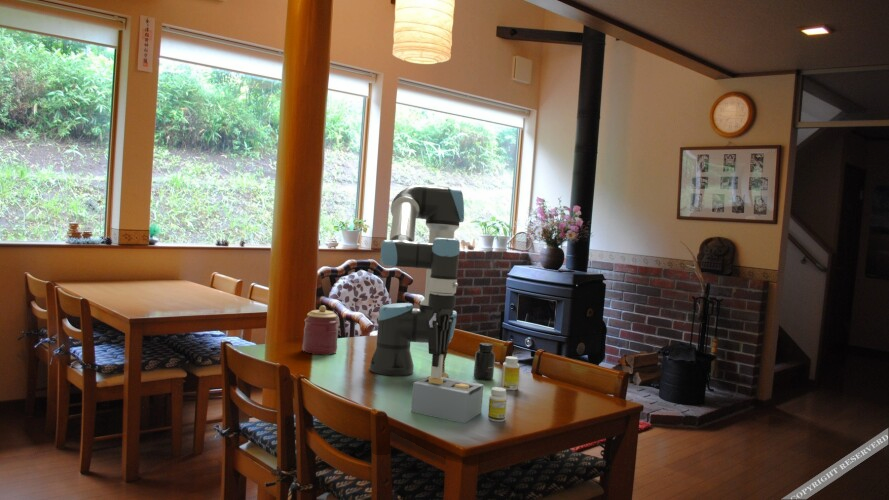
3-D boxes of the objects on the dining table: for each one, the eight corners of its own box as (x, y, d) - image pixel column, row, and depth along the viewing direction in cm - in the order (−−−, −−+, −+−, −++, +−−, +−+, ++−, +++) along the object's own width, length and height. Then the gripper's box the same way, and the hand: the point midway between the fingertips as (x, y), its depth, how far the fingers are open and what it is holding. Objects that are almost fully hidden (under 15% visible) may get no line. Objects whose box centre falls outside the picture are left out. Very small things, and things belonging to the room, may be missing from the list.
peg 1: (424, 404, 182) (426, 378, 182) (430, 401, 186) (432, 375, 186) (437, 407, 181) (439, 380, 180) (443, 404, 184) (445, 378, 184)
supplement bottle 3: (521, 390, 213) (523, 359, 212) (506, 391, 210) (509, 359, 210) (512, 385, 218) (514, 355, 217) (497, 386, 215) (500, 355, 215)
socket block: (411, 411, 180) (413, 382, 179) (430, 402, 190) (432, 375, 190) (464, 423, 173) (466, 393, 172) (481, 412, 184) (483, 384, 183)
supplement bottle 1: (491, 381, 221) (494, 346, 221) (471, 379, 223) (474, 344, 222) (494, 377, 228) (497, 343, 227) (475, 375, 229) (477, 341, 229)
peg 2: (450, 412, 179) (452, 385, 179) (456, 409, 183) (458, 382, 182) (463, 415, 177) (465, 388, 177) (469, 412, 181) (471, 385, 181)
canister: (309, 346, 256) (312, 302, 255) (341, 350, 254) (344, 305, 253) (297, 353, 243) (300, 305, 242) (330, 356, 241) (334, 309, 240)
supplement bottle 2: (490, 415, 182) (492, 385, 181) (506, 418, 180) (509, 388, 180) (486, 420, 177) (488, 389, 177) (503, 423, 176) (505, 392, 175)
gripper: (444, 296, 174) (438, 384, 175) (464, 293, 186) (457, 375, 187) (419, 293, 178) (413, 379, 178) (440, 290, 189) (434, 371, 190)
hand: (436, 377), depth 183 cm, fingers closed
